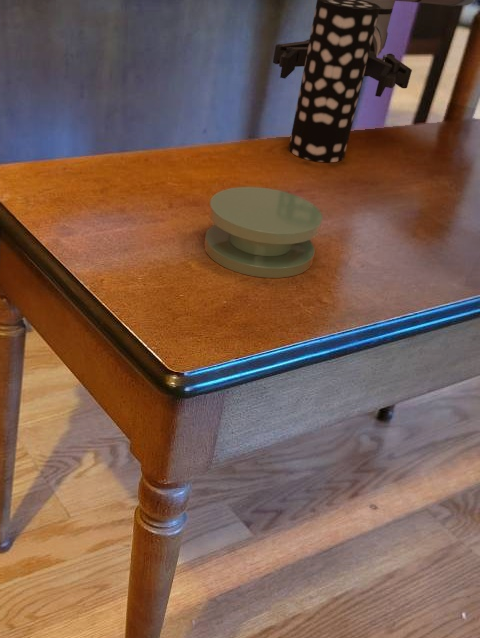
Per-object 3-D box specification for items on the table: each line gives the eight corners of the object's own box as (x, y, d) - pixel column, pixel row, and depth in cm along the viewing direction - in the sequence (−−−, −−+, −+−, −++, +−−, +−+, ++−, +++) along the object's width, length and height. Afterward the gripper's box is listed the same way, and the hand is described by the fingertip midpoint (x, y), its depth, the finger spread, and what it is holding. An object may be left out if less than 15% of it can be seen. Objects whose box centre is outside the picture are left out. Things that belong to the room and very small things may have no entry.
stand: (327, 249, 84) (338, 207, 81) (287, 289, 75) (297, 244, 72) (232, 219, 88) (239, 178, 85) (184, 254, 79) (189, 210, 76)
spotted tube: (312, 165, 106) (345, 9, 94) (277, 145, 111) (304, -5, 99) (355, 159, 110) (393, 9, 97) (320, 140, 115) (351, -4, 103)
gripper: (424, 88, 119) (413, 122, 103) (274, 60, 124) (241, 88, 108) (439, 37, 115) (430, 64, 98) (283, 10, 120) (250, 31, 103)
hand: (331, 77), depth 103 cm, fingers open, 13 cm apart
